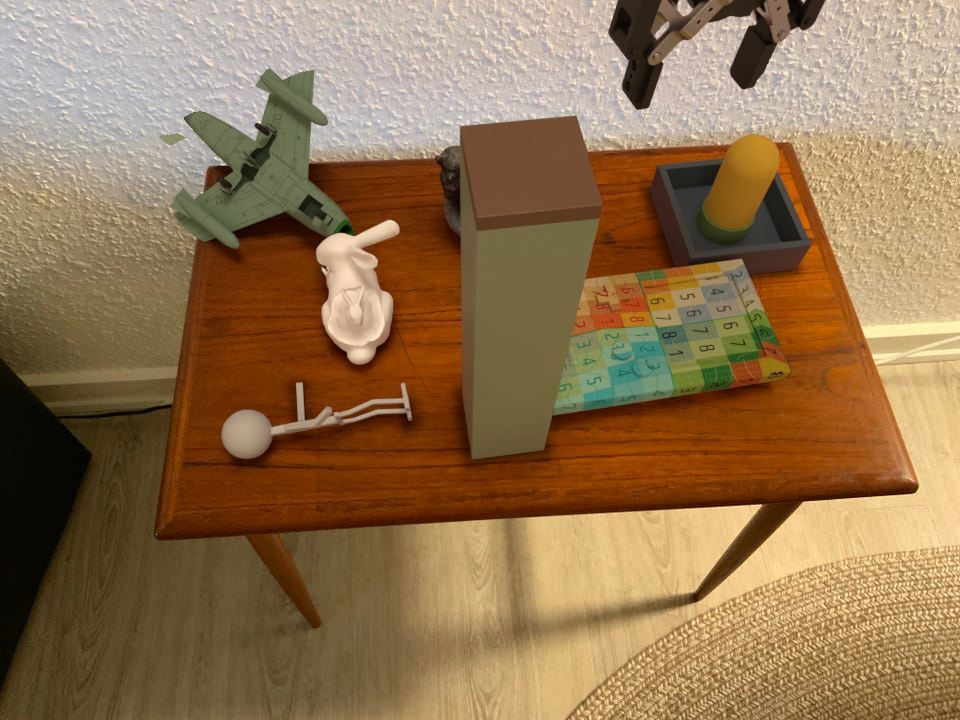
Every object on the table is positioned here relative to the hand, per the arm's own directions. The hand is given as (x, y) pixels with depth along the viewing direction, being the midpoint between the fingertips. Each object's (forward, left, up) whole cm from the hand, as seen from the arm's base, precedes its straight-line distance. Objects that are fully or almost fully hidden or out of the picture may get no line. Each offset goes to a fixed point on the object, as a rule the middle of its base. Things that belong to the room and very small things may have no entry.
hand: (689, 91), depth 51 cm
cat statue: (+6, +12, -21) cm, 25 cm away
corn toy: (+4, -10, -20) cm, 23 cm away
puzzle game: (-9, +1, -21) cm, 23 cm away
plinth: (-14, +15, -21) cm, 29 cm away
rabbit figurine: (-2, +25, -21) cm, 33 cm away
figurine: (-11, +22, -18) cm, 31 cm away
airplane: (+16, +36, -14) cm, 42 cm away
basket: (+4, -10, -21) cm, 24 cm away
